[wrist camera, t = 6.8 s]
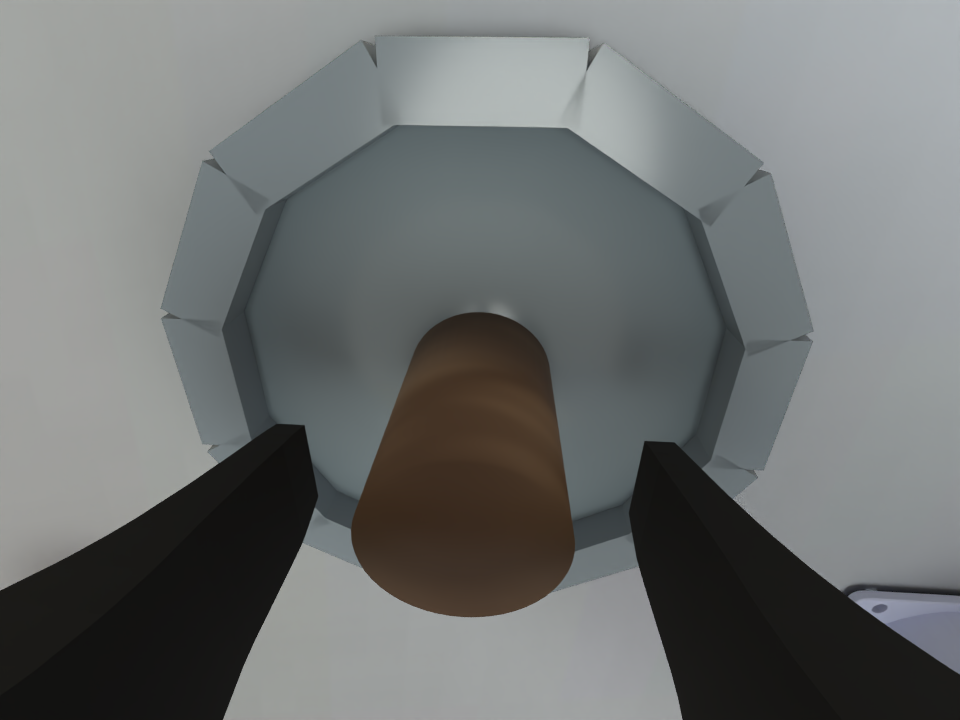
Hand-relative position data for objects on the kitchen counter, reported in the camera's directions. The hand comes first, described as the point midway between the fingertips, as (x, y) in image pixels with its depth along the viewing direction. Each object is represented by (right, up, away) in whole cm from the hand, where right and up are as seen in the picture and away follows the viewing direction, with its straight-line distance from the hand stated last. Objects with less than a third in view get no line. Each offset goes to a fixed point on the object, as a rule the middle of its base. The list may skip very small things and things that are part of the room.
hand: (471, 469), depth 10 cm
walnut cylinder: (0, +2, +3) cm, 4 cm away
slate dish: (0, +2, +4) cm, 5 cm away
